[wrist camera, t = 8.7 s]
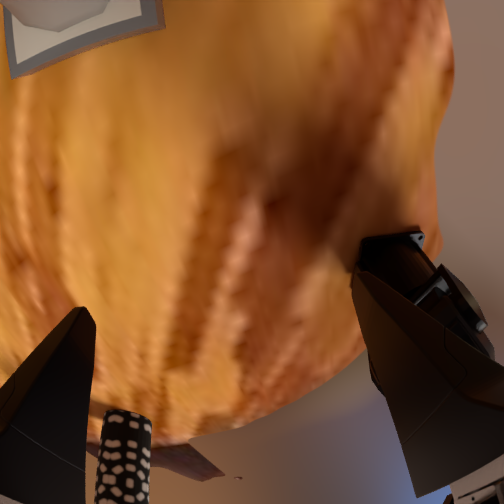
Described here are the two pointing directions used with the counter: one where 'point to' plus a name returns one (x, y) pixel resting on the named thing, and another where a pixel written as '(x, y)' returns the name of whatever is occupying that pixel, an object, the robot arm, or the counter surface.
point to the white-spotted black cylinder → (123, 459)
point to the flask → (54, 12)
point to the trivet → (77, 34)
